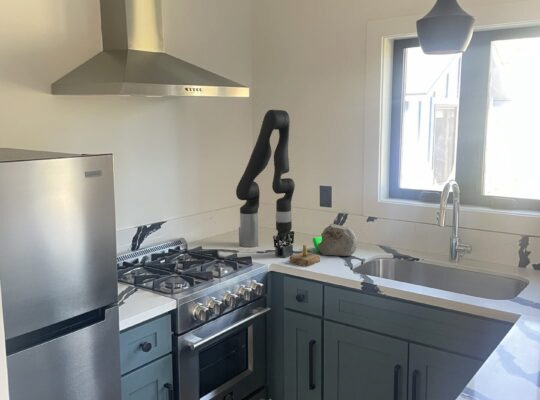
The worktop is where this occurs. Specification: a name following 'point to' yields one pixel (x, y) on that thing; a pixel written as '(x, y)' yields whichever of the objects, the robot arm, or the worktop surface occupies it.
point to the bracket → (317, 242)
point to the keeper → (304, 258)
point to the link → (285, 251)
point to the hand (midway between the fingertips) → (284, 254)
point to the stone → (338, 241)
